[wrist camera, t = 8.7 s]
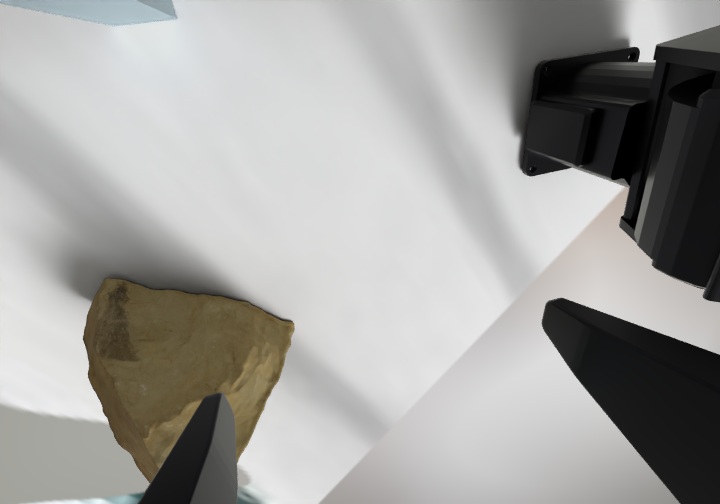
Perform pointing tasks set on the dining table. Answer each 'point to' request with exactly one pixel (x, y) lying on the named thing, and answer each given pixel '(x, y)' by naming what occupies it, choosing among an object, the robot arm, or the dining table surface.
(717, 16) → the dining table surface
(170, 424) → the rock
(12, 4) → the blue-grey rectangular slab
